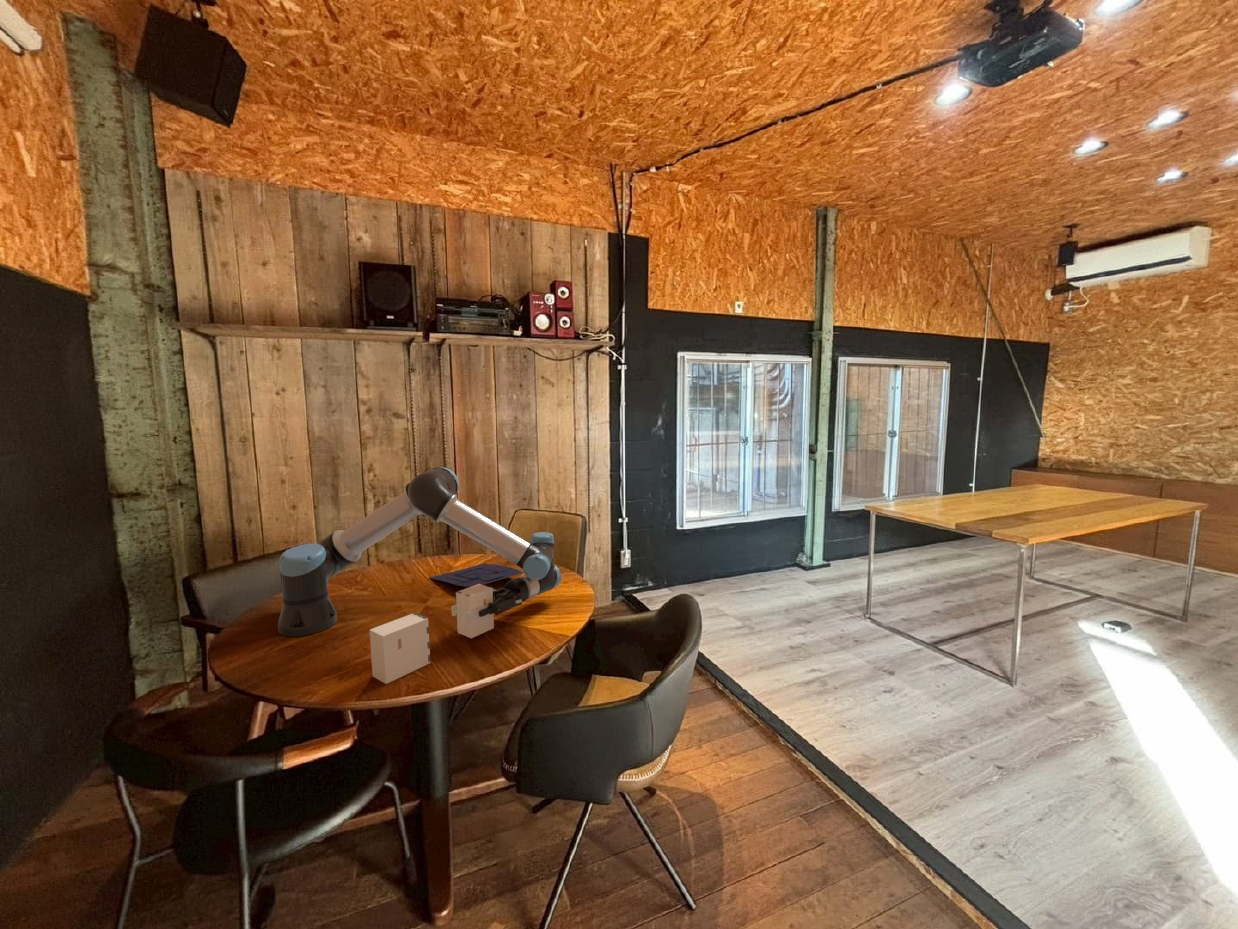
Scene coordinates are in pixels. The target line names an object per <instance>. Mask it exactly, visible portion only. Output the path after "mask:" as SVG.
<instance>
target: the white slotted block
mask: <svg viewBox="0 0 1238 929" xmlns="http://www.w3.org/2000/svg"><path fill="white" fill-rule="evenodd" d="M369 642H370V658H371V671H372V672H371V673H372V677H373V678H375V679H377V680H378V681H380V682H381V683H384V684H385V685H387V684H391V683H392V682H394V681H396V680H397V679H400V678H402V677H404V676H406V675H408V674H410V673H412V672H415V671H417V670H419V669H421V668H423V667H425V666H428V665H429V664H431V653H430V651H431V650H430V649H431V646H430V645H431V644H430V626H429V618H428V617H427V616H424V615H422V614H419V613H417V612H413V613H410V614H407V615H404V616H403V617H400V618H397V619H394V620H392V621H388V622H386V623H384V624H381V625H379V626H376V627H373V628H371V629H369Z"/></svg>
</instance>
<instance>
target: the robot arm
mask: <svg viewBox="0 0 1238 929" xmlns="http://www.w3.org/2000/svg"><path fill="white" fill-rule="evenodd" d="M459 489H460V481H459V478H458V476H457V474H456V473H455V472H454V471H453V470H451V469H450V468H447V467H444V466H436V467H435V466H434V467H431V468H430V469H429V470H426V471H425V472H422V473H419V474H418V475H416V476H415V477H414V478H412V480H411V481H410V482H409V483H407V484H406V485H405V486H404V492H402V493H401V494H399V495H397V496H395V497H394V498H393V499H391V500H390V501H388V502H387V503H385V504H384V505H382V506H381V507H379V508H378V509H376V510H374V511H373V512H371V513H370V514H369V515H367V516H365V517H364V518H362V519H361V520H359V521H358V522H356V523H355V524H354V525H352V526H350V527H349V528H347V529H346V530H343V529H337V530H334V531H333V532H332V533H331V534H329V535H327V536H326V537H325V538H322V539H321V540H320V541H318V542H317V543H316V542H315V543H305V544H300V545H298V546H292V547H291V548H289V549H286V550H285V551H283V552H282V553H281V555H280V556H279V565H278V570H279V575H280V585H281V586H280V587H281V596H282V607H281V610H280V614H279V618H278V620H277V631H278V632H277V633H279V635H281V636H285V637H301V636H308V635H312V634H316V633H320V632H322V631H324V630H325V631H326V630H328V629H329V628H331V627H332V626H334V625H336V623H337V621H338V618H337V617H338V614H337V611H336V608H335V607H334V605H333V603H332V600H331V599H330V595H329V585H328V583H329V582H328V581H329V580H331V579H332V578H333V577H334V576H336V575H337V574H339V573H340V572H341V573H342V572H343V571H345V570H346V569H348V568H349V567H350V566H351V565H353V564H354V563H356V562H357V561H359V560H360V559H361V556H362V553H363V552H364V551H366V550H367V549H369V548H371V547H372V546H373V545H375V544H376V543H378V542H380V541H381V540H382V539H384V538H386V537H387V536H388V535H390V534H391V533H393V532H395V531H396V530H398V529H399V528H402V527H403V526H404V525H406V524H407V523H408V522H410V521H412V520H414V518H417V517H418V516H419V515H424V516H425V517H428V518H430V519H431V520H433V521H435V523H441V522H442V523H445V524H447V525H448V526H450V527H451V528H453V529H454V530H457V531H458V532H460V533H462V534H463V535H465V536H467V537H469V538H470V539H471V540H474V541H475V542H476V543H478V544H480V545H482V546H484V547H485V548H487V549H488V550H491V551H492V552H494V553H495V554H497V555H498V556H500V557H502V558H504V559H505V560H507V561H508V562H510V563H512V564H514V565H516V566H517V567H519V568H520V569H521V570H523V571H522V572H523V575H520V576H518V577H515V578H513V579H511V580H508V581H507V582H506V583H505V585H504V587H500V588H498V589H494V586H489V587H490V588H493V603H488V604H489V607H488V605H484V606H481V607H479V608H476V609H474V610H471V611H469V612H467V622H471V621H474V620H476V619H478V618H481V617H483V616H485V615H488V614H493V615H495V616H499V615H501V614H503V613H505V612H507V611H509V610H511V609H513V608H515V607H517V606H521V605H522V603H523V602H525V601H527V600H529V601H530V600H531V599H532V598H534V597H536V596H539V595H541V594H544V593H546V592H549V591H551V590H553V589H555V588H556V587H558V586H559V585H560V584H561V582H562V576H563V575H562V573H561V571H560V568H558V566H556V565H555V540H554V539H555V538H554V535H553V533H551V532H547V531H540V532H534V533H533V534H531V536H530V542H529V541H526V540H525V539H524V538H523V537H520V536H519V535H516V534H515V533H513V532H512V531H510V530H509V529H507V528H505V527H504V526H502V525H500V524H499V523H497V522H496V521H493V520H492V519H491V518H488V517H487V516H486V515H485V514H483V513H480V512H479V511H477V510H475V509H474V508H473V507H470V506H469V505H468V504H466V503H464V502H463V501H461V500H459V499H458V492H459ZM450 608H451V611H450V612H451V616H452V617H455V616H457V605H456V604H454V605H452V606H451V607H450Z"/></svg>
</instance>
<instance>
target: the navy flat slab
mask: <svg viewBox="0 0 1238 929" xmlns="http://www.w3.org/2000/svg"><path fill="white" fill-rule="evenodd" d="M521 574H524V571H522V569H517V568H514V567H510V566H504V565H501V564H494V563H485V562H484V563H483V562H482V563H481V564H480V563H479V564H476V565H473V566H469V567H466V568H462V569H458V570H455V571H450V572H446V573H443V574H439V575H435V576H430V577H429V578H430V579H432V580H436V581H437V580H438V581H441V582H444V583H447V584H453V585H454V586H460V587H465V588H469V587H472V586H474V585H477V584H481V585H484V586H485V585H488V584H491V583H493V582H497V581H500V580H504V579H508V578H511V577H513V576H514V577H515V576H517V575H518V576H519V575H521Z"/></svg>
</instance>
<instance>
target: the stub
mask: <svg viewBox="0 0 1238 929" xmlns="http://www.w3.org/2000/svg"><path fill="white" fill-rule="evenodd" d="M490 587H491V586H487V585H485V584H484V585H481V584H477V585H474V586H472V587H470V586H468V587H465V588H464V589H460V590H458V591H456V592H455V597H456V598H455V599H456V600H455V601H456V602H455V603H456V604H455V605H457V615H456V622H457V626H456V628H457V634H460V635H462V636H464V637H466V638H469V639H473V638H475V637H478V636H480V635H481V634H484V633H487V632H488V631H491V630H493V629H495V624H494V623H495V622H494V621H495V618H494V613H493V614H488V615H485V616H483V617H481V618H478V619H476V620H474V621H471V622H467V612H469V611H471V610H474V609H476V608H479V607H481V606H484V605H488V607H489V604H488V603H493V588H490Z"/></svg>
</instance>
